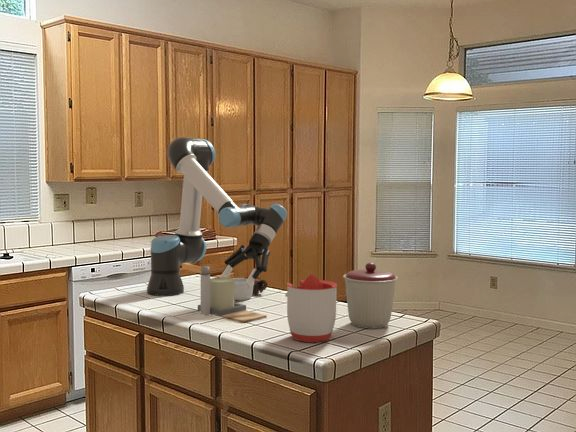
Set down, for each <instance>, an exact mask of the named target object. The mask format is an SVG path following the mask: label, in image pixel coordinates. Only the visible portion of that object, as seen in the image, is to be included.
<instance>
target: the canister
mask: <svg viewBox="0 0 576 432" xmlns="http://www.w3.org/2000/svg"><path fill="white" fill-rule="evenodd" d="M376 268H377V265H376V263H373V262H367V263H366V264H365V269H355V270H354V269H353V270H350V271H347V273H345V274H343V276H342V277H343V278H344V281H345V282H344V283H345V293H346V302H347V303H346V304H347V313H348V318H349V320H350V323H351V324H352V325H353V326H356V327H358V328H364V329H380V328H384V327H386V326H388V325H389V323H390V321H391V319H392V318H391V317H392V311H393V305H394V298H395V291H396V283H397V281H398V279H399V278H398V276H397V275H395V274H394V273H393V272H390V271H387V270H381V269H376Z"/></svg>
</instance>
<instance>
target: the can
mask: <svg viewBox="0 0 576 432" xmlns="http://www.w3.org/2000/svg"><path fill="white" fill-rule="evenodd" d="M234 302H235V300H234V279H233V277H228V278H227V277H220V276H219V277H213V278H212V277H211V278H210V307H211V308H216V309H220V310H222V309H227V308H231V307H234Z"/></svg>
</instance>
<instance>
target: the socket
mask: <svg viewBox="0 0 576 432" xmlns="http://www.w3.org/2000/svg"><path fill="white" fill-rule="evenodd" d="M210 279H211V274H208V275H202V274H200V304H198V305H197V311H199V312H200V315H202V316H208V315H214V316H219V317H222V315H226V314H230V313H235V312H239V311H243V310H245V311H247V304H244V303H238V302H235V301H234V307H231V308H227V309H222V310H220V309H216V308H211V307H210Z"/></svg>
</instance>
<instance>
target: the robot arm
mask: <svg viewBox="0 0 576 432" xmlns="http://www.w3.org/2000/svg"><path fill="white" fill-rule="evenodd" d="M167 158H168V161H169V163H170V164H171V166H172V167H173V168H174V169H175V170H176V171H177V173H179V174H181V173H182V175H183V183H182V194H181V195H182V196H181V203H180V204H181V205H180V215H179V216H180V218H179V227H178V229H177V230H175V232H174V234H166V235H159V236H156V237H154V238H153V239H152V240H151V241H150V277H149V280H148V284H147V287H146V293H147V295H150V296H151V295H152V296H156V297H158V296H160V297H161V296H163V297H164V296H165V297H166V296H176V295H180V294H183V293H184V291H185V287H184V286H185V285H184V283H183V280H182V277H181V274H180V271H181V270H180V269H181V267H180V266H182V263H189V264H193V263H196V262H199V261H201V260H202V259H203V258H204V256H205V254H206V252H207V242H206V241H205V238H203V233H202V231H201V230H200V225H201V215H202V203H203V199H205V200H206V201H207V203H208V204H209V205H210V206H211V207H212V208H213V210H215V212H216V213H218V217H217V218H218V220H219V224H220V225H221V226H222V227H224V228H236V227H243V226H251V225H253V226H257V228H256V229H255V230H254V233H253V234H252V235H251V237H250V239H249V241H248V242H249V243H248V245H247V246H245V245H244V244H241V245H240V246H239V248H238V249H237V250H236V251H234V252H233V253H232V254H231V255H230V256H229V257H227V259H225V260H224V264H225V265H226V266H225V267H224V269H223V270H222V273H221V275H220V276H219V277H227V278H229V277H230V275H231V273H232V272H233V270H234V269H233V268H234V267H236V266H237V265H240V263H242V262H244V261H245V260H246V261H247V260H251V259H252V260H254V262H255V266H254V268H253V269H252V271H251V272H250V275H249V276H247V277H248V279H247V281H246V282H245V283H246V284H247V285H248V287H251V286H252V284H253V282H254V281H255V279H257V277H259V276H260V274H262V273H263V272H264V273H266V272H267V270H268V263H269V257H270V255H271V251H270V250H269V249H268V248H269V247H270V245H271V243H272V241H273V240H274V238H275V237H276V235H277V233H278V232H279V230H280V229H281V228H282V226H283V224H284V223H285V220H286V218H287V216H288V212H287V209H286V208H285V207H284V206H282V205H281V204H279V203H273V204H272V205H271V206H270V207H269V208H267V207H266V208H265V207H260V206H258V205H253V204H248V203H243V204H241V205H240V206H238V205H237V204H236V203H235V201H233V199H231V197H230V196H229V195H228V194H227V193H226V192H225V191H224V190H223V188H221V186H220V185H219V184H218V183H217V182H216V181H215V179H213V177H212V176H211V175H210V174H209V170H210V169H209V168H210V166H211V165H212V164H213V163H214V162H215V159H216V150H215V148H214V145H213V144H212V142H210V141H209V140H207V139H203V138H199V137H186V136H185V137H184V136H183V137H181V136H180V137H176V138H175V139H174V140H172V141H171V142H170V144H169V145H168V148H167ZM261 256H262V257H261Z"/></svg>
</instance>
